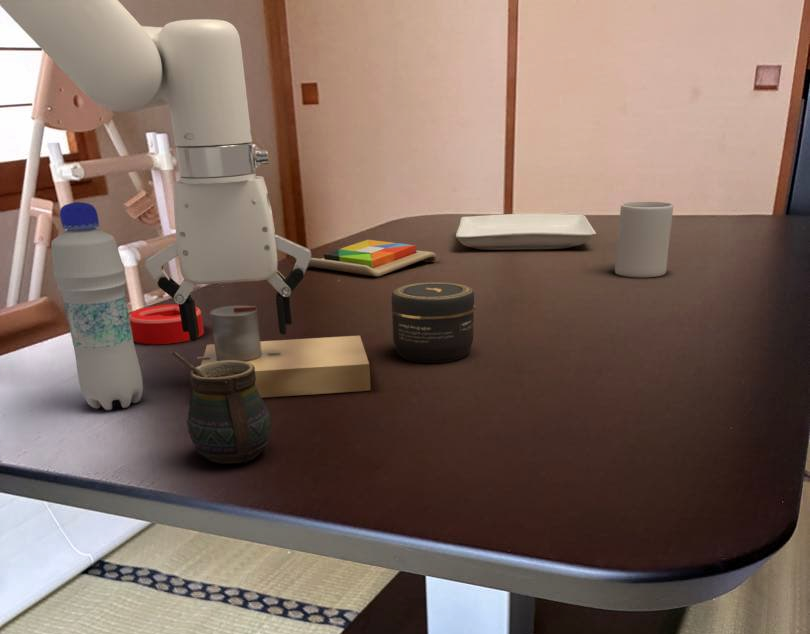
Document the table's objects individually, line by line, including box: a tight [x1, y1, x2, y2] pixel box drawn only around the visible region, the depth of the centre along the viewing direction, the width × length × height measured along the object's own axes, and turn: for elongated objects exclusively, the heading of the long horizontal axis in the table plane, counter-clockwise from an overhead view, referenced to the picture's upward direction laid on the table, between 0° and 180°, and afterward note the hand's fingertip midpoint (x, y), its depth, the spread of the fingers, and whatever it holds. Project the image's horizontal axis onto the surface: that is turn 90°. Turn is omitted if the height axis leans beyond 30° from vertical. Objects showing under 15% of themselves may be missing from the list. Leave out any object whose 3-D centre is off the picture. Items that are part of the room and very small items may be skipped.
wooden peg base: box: [196, 335, 371, 399], centre depth 94 cm, size 19×12×3 cm, turn 97°
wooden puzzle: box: [308, 239, 437, 278], centre depth 155 cm, size 18×19×4 cm
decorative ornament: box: [129, 303, 205, 345], centre depth 114 cm, size 10×10×3 cm
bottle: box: [50, 201, 144, 411], centre depth 84 cm, size 7×7×20 cm
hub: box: [209, 305, 262, 361], centre depth 92 cm, size 5×5×5 cm
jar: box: [390, 281, 476, 364], centre depth 101 cm, size 10×10×8 cm
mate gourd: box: [170, 350, 271, 465], centre depth 73 cm, size 7×8×10 cm
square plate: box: [455, 213, 597, 251], centre depth 175 cm, size 27×27×4 cm
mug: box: [614, 201, 674, 279], centre depth 142 cm, size 12×8×11 cm
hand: (239, 334), depth 92 cm, fingers open, 9 cm apart
